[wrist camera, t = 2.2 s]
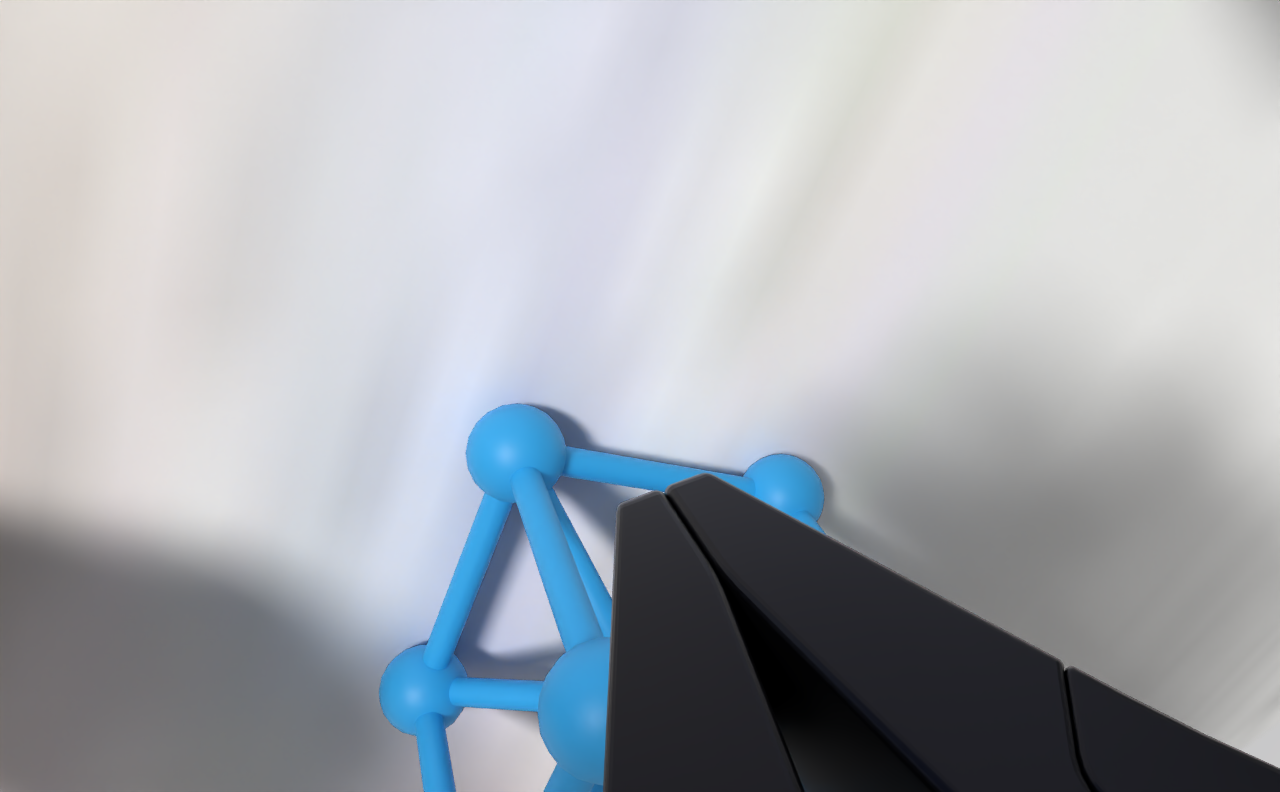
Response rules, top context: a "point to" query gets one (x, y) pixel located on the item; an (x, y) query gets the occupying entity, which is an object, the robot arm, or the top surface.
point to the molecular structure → (578, 682)
